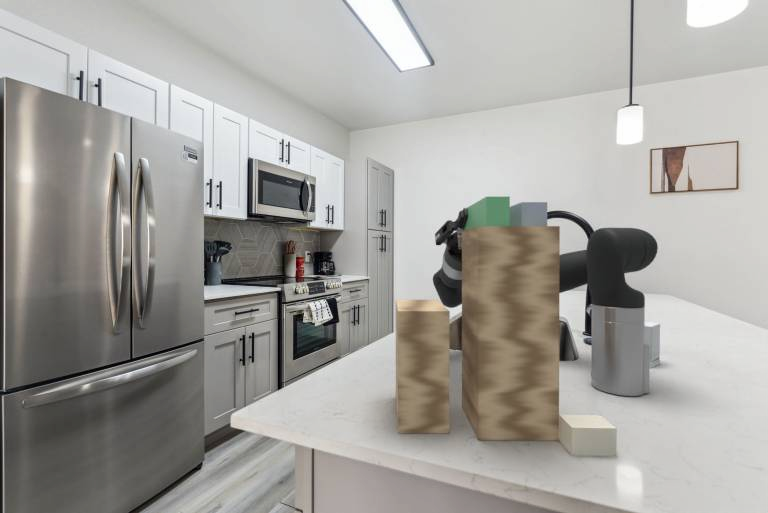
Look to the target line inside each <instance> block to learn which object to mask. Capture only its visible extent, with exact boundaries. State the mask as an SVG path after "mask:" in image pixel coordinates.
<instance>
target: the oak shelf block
mask: <svg viewBox="0 0 768 513" xmlns="http://www.w3.org/2000/svg"><path fill="white" fill-rule="evenodd" d="M560 227H561V226H559V225H550V226H549V225H547V226H478V227H475V228H472V229H468V230H465V231H462V304H461V408H462V410H463V411H464V413H465V416H466V418H467V420H468V421H469V424H470V426H471V428H472V430H473V432H474V434H475V436H476V438H477V440H478V441H559V415H560V293H559V267H560V255H561V254H560V250H561V248H560V247H561V246H560V243H561V242H560V236H561V235H560V234H561V230H560V229H561V228H560Z"/></svg>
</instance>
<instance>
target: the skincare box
mask: <svg viewBox="0 0 768 513" xmlns="http://www.w3.org/2000/svg"><path fill="white" fill-rule="evenodd" d="M644 322H645V344H647V345H649V347H650V369H652V368H654V367H656V366H659V365H660V364H661V361H660V358H661V357H660V355H661V354H660V351H661V345H660V344H661V343H660V341H661V323H660V322H653V321H652V322H651V321H646V320H645V321H644Z"/></svg>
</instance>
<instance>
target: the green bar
mask: <svg viewBox="0 0 768 513" xmlns="http://www.w3.org/2000/svg"><path fill="white" fill-rule="evenodd" d="M510 198H511V196H485V197H484V198H481V199H480V200H478V201H476V202H475V203H473V204H471V205H469V206H468V207H466V208H467V210H468V219H467V222H466V225H465V228H463V231H465V230H468V229H472V228H475V227H478V226H510V207H511V205H510V204H511V203H510V200H511V199H510ZM461 211H463V209H462V210H461Z"/></svg>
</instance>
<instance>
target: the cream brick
mask: <svg viewBox="0 0 768 513" xmlns="http://www.w3.org/2000/svg"><path fill="white" fill-rule="evenodd" d="M617 432H618V431H617V427H615V426H614V425H613V424H611V422H609V421H608V420H607V419H605V418H604V417H603V416H602V415H601V414H599V415H595V414H594V415H593V414H591V415H589V414H559V440H558V441H559V442H560V443H561V444H562V445H563V447H564V448H565V449H566V450H567V451H568V453H570V455H571V456H577V457H578V456H579V457H581V456H582V457H583V456H584V457H585V456H586V457H593V456H594V457H617V435H618V434H617Z"/></svg>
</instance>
